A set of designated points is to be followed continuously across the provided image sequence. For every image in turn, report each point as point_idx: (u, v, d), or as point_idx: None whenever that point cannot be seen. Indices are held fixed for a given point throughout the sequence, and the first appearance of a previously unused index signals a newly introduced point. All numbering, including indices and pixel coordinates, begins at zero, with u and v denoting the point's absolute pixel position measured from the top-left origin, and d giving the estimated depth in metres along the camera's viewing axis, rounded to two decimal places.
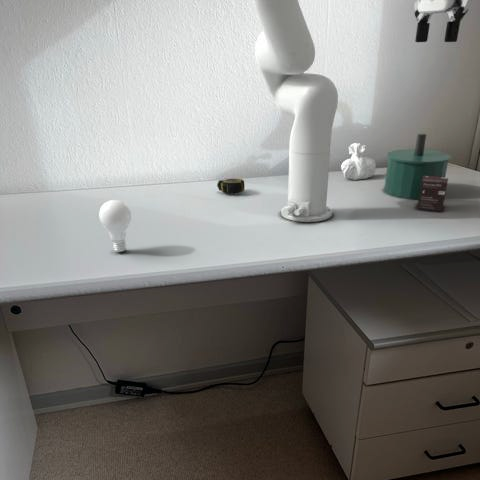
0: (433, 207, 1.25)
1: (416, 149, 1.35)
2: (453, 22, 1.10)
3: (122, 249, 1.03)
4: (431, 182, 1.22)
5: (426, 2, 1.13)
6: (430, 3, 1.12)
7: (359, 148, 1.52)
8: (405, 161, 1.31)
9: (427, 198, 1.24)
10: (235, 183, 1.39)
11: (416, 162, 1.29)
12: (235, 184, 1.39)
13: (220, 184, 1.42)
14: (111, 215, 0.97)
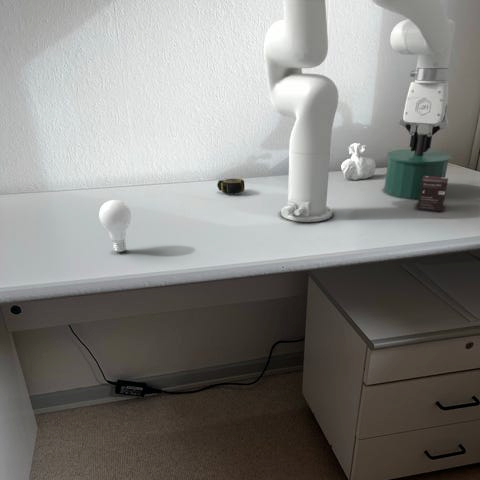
0: (433, 207, 1.25)
1: (416, 149, 1.35)
2: (429, 137, 1.32)
3: (122, 249, 1.03)
4: (431, 182, 1.22)
5: (415, 115, 1.30)
6: (420, 117, 1.29)
7: (359, 148, 1.52)
8: (405, 161, 1.31)
9: (427, 198, 1.24)
10: (235, 183, 1.39)
11: (416, 162, 1.29)
12: (235, 184, 1.39)
13: (220, 184, 1.42)
14: (111, 215, 0.97)
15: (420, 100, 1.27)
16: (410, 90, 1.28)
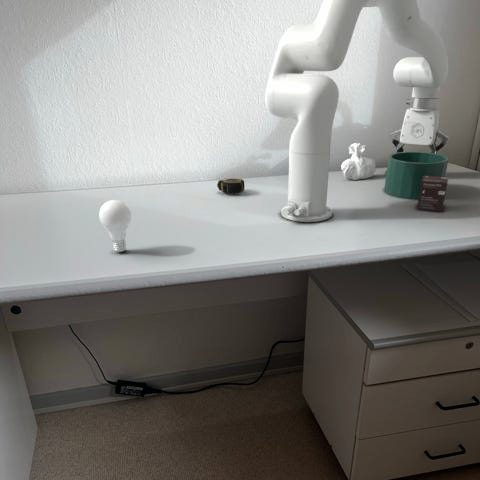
0: (433, 207, 1.25)
1: None
2: (434, 153, 1.49)
3: (122, 249, 1.03)
4: (431, 182, 1.22)
5: (410, 137, 1.49)
6: (415, 139, 1.49)
7: (359, 148, 1.52)
8: None
9: (427, 198, 1.24)
10: (235, 183, 1.39)
11: None
12: (235, 184, 1.39)
13: (220, 184, 1.42)
14: (111, 215, 0.97)
15: (414, 125, 1.47)
16: (406, 116, 1.48)
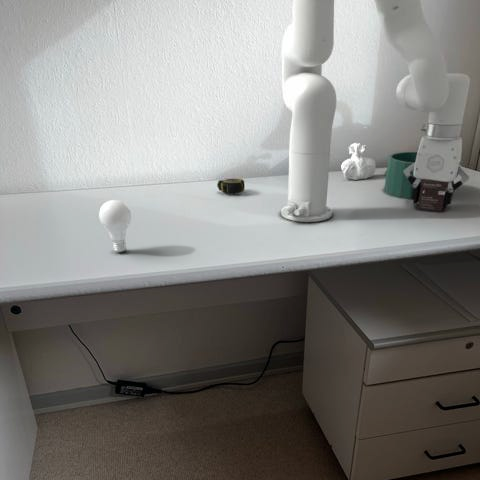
0: (433, 207, 1.25)
1: None
2: (450, 193, 1.23)
3: (122, 249, 1.03)
4: (431, 182, 1.22)
5: (426, 171, 1.22)
6: (432, 173, 1.21)
7: (359, 148, 1.52)
8: None
9: (427, 198, 1.24)
10: (235, 183, 1.39)
11: None
12: (235, 184, 1.39)
13: (220, 184, 1.42)
14: (111, 215, 0.97)
15: (432, 156, 1.20)
16: (421, 145, 1.20)
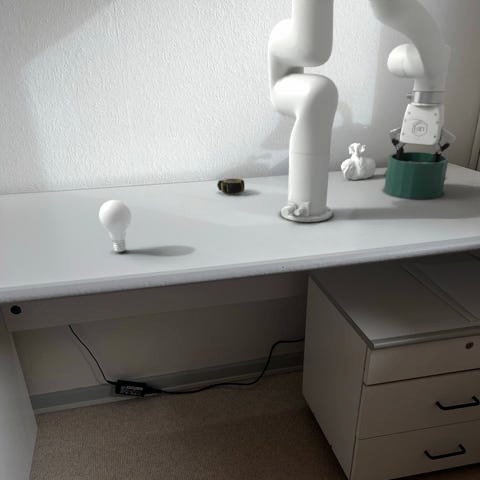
0: None
1: None
2: (439, 154, 1.32)
3: (122, 249, 1.03)
4: None
5: (412, 136, 1.32)
6: (417, 138, 1.32)
7: (359, 148, 1.52)
8: None
9: None
10: (235, 183, 1.39)
11: None
12: (235, 184, 1.39)
13: (220, 184, 1.42)
14: (111, 215, 0.97)
15: (416, 122, 1.30)
16: (407, 112, 1.31)
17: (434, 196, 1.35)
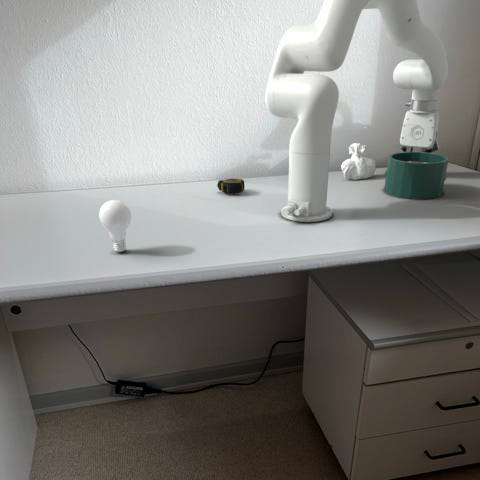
0: None
1: None
2: None
3: (122, 249, 1.03)
4: None
5: (410, 139, 1.50)
6: (414, 141, 1.49)
7: (359, 148, 1.52)
8: None
9: None
10: (235, 183, 1.39)
11: None
12: (235, 184, 1.39)
13: (220, 184, 1.42)
14: (111, 215, 0.97)
15: (414, 127, 1.48)
16: (406, 118, 1.48)
17: (434, 196, 1.35)
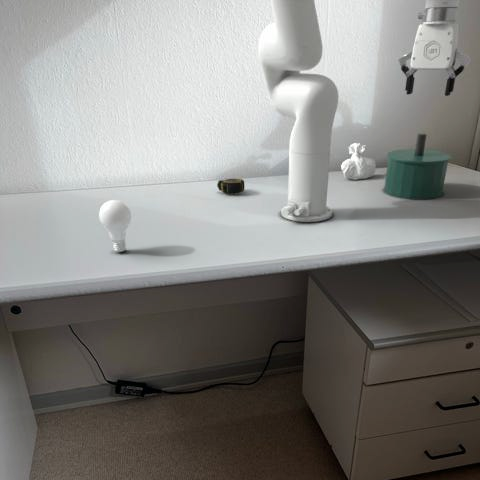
0: None
1: (416, 149, 1.35)
2: (452, 79, 1.23)
3: (122, 249, 1.03)
4: None
5: (423, 60, 1.23)
6: (429, 61, 1.23)
7: (359, 148, 1.52)
8: (405, 161, 1.31)
9: None
10: (235, 183, 1.39)
11: (416, 162, 1.29)
12: (235, 184, 1.39)
13: (220, 184, 1.42)
14: (111, 215, 0.97)
15: (428, 43, 1.21)
16: (418, 33, 1.22)
17: (434, 196, 1.35)
